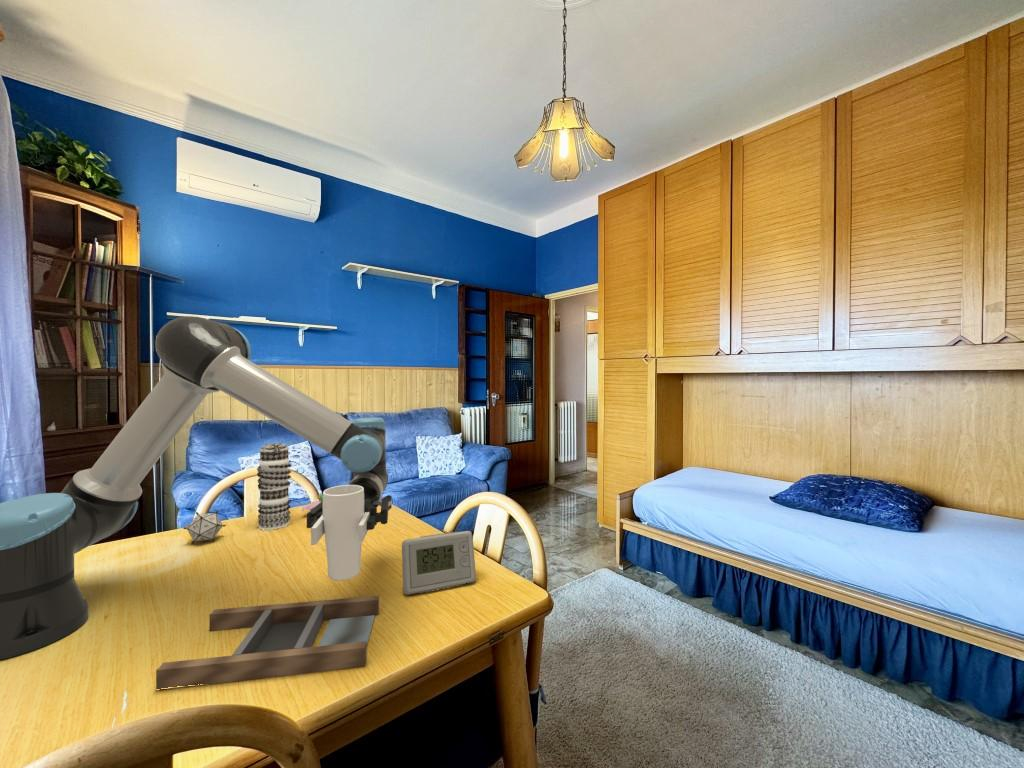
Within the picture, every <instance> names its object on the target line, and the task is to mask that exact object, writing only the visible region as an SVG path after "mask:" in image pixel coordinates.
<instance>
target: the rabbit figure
mask: <svg viewBox="0 0 1024 768" xmlns="http://www.w3.org/2000/svg"><path fill="white" fill-rule="evenodd" d="M317 499H318V500H314V501H312V502H310V503H309V504H306V505H303V506H302V509H301V511H302V512H303V511H307V512H310V511H311V510H312V509H313V508H315V507H316V506H317V505H318V504H319V503H321V499H323V493H319V494H318V497H317ZM319 500H320V501H319Z"/></svg>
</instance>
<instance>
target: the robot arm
mask: <svg viewBox="0 0 1024 768" xmlns="http://www.w3.org/2000/svg"><path fill="white" fill-rule="evenodd" d="M250 344H251V343H250V342H249V340H248V338H247V337H246V336H245V334H244V333H242V332H241V331H240V330H238V329H237V328H235V327H234V326H231V325H229V324H227V323H224V322H218V321H214V320H212V319H211V320H210V319H207V318H204V317H199V316H193V315H190V316H189V315H188V316H181V317H176V318H174V319H172V320H170V321H168V322H167V323H165V324H164V325H163V326H162V327H161V328H160V329H159V331H158V332H157V335H156V338H155V345H154V346H155V352H156V354H157V356H158V358H159V360H160V361H161V367H162V370H163V372H164V373H163V375H162V376H161V378H160V379H159V381H158V382H157V383H156V384H155V385H154V387H153V388H152V389H151V391H150V392H149V393H148V394H147V396H146V397H145V398H144V400H143V401H142V402H141V404H140V405H139V406H138V408H137V409H136V410H135V411H134V412H133V414H132V416H130V418H129V419H128V420H127V421H126V423H125V424H124V426H122V428H121V429H120V431H119V432H118V433H117V434H116V435H115V437H114V438H113V440H112V441H111V442H110V443H109V445H108V446H107V447H106V449H105V450H104V452H103V453H102V454H101V455H100V457H99V458H98V459H97V461H96V462H95V463H94V464H93V466H92V467H91V468H87V469H82V470H79V471H77V472H76V473H75V474H74V475H73V477H72V478H71V479H70V480H69V481H68V483H67V484H66V485H65V486H64V488H63V489H62V491H61V492H47V493H46V492H45V493H38V494H32V495H26V496H22V497H20V498H16V499H9V500H5V501H2V502H1V503H0V661H2V660H5V659H9V658H13V657H16V656H21V655H23V654H26V653H29V652H32V651H34V650H38V649H39V648H43V647H45V646H47V645H50V644H53V643H55V642H57V641H58V640H61V639H62V638H64V637H66V636H68V635H69V634H71V633H73V632H74V631H76V630H77V629H79V628H81V626H83V625H84V624H85V623H86V622H87V620H88V618H89V604H88V601H87V600H86V599H85V598H84V596H83V593H82V591H81V588H80V587H79V585H78V583H77V582H76V578H75V554H77V553H79V552H81V551H82V550H84V549H86V548H88V547H90V546H92V545H93V544H96V543H98V542H99V541H101V540H103V539H104V540H105V539H106V538H109V537H110V536H113V535H114V534H116V533H118V532H119V531H120V530H122V529H123V528H124V527H126V526H127V525H128V524H129V523H130V522H131V521H132V520H133V518H134V516H135V514H136V512H137V510H138V508H139V507H138V506H139V502H138V500H139V499H140V498H141V497H142V494H143V489H142V486H141V484H142V482H143V480H144V479H145V477H146V476H147V475H148V474H149V472H150V471H151V470H152V469H153V467H154V466H155V464H156V463H157V462H158V461H159V459H160V458H161V456H162V455H163V454H164V452H165V451H166V450H167V449H168V447H169V446H170V444H171V443H172V442H173V441H174V439H175V438H176V437H177V435H178V434H180V431H181V430H182V429H183V427H184V425H186V424H187V422H188V420H189V419H191V417H192V415H194V414H193V413H194V412H195V411H196V410H197V409H198V407H200V405H201V403H202V402H203V401H204V399H206V397H207V395H209V394H213V393H217V392H220V391H221V392H223V393H224V394H226V395H228V396H230V397H232V398H234V400H237V401H238V402H240V403H241V404H243V405H246V406H247V407H248V408H251V409H252V410H254V411H255V412H257V413H259V414H261V415H263V416H264V417H266V418H268V419H270V420H271V421H273V422H274V423H276V424H278V425H280V426H281V427H283V428H285V429H286V430H289V431H291V432H292V433H294V434H296V435H297V436H299V437H301V438H303V439H305V440H306V441H308V442H310V443H312V444H313V445H314V446H316V447H318V448H320V449H322V450H324V451H325V452H327V453H329V454H330V455H332V456H334V457H335V458H336V459H339V460H340V461H341V463H342V465H343V466H344V467H345V468H346V469H347V470H348V471H350V472H351V473H353V475H352V476H353V477H352V478H353V479H352V480H351V481H350V482H349V483H348V484H347V485H359V486H362V487H363V488H364V516H363V518H362V519H361V521H360V523H359V525H358V542H362V543H363V542H364V540H365V539H366V535H367V533H368V531H372V530H374V529H375V526H377V525H378V523H380V525H386V524H388V520H389V511H390V510H391V509H392V507H393V506H392V500H393V499H392V495H389V494H388V495H385V496H383V497H382V495H383V493H384V491H385V490H386V488H387V486H388V483H389V472H388V470H387V459H386V450H387V449H386V447H387V446H386V433H387V430H386V424H385V423H386V422H385V419H384V418H382V417H361V418H356V419H354V420H353V421H350V420H348V419H347V418H346V417H343V416H342V415H340V414H338V413H337V412H335V411H334V410H331V409H330V408H329V407H328V406H325V405H324V404H322V403H320V402H319V401H317V400H315V399H314V398H312V397H311V396H309V395H307V394H306V393H304V392H303V391H301V390H299V389H298V388H296V387H294V386H292V385H291V384H289V383H287V382H286V381H284V380H282V378H281V379H280V378H279V377H277V376H275V374H272V373H270V371H268V370H266V369H264V368H262V367H261V366H259V365H257V364H256V363H255V362H253V361H251V356H252V348H251V345H250ZM320 501H321V503H319V504H318V505H317V506H316V507H315V508H313V509H312V510H311V511H310V510H309V511H307V513H306V529H310V545H311V546H316V545H317V544H318V543H319V541H320V540H321V538H322V537H323V536H324V535H325V534H324V525H323V510H322V504H323V499H321V500H320ZM378 507H380V512H378Z"/></svg>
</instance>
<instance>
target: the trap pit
mask: <svg viewBox="0 0 1024 768" xmlns="http://www.w3.org/2000/svg"><path fill="white" fill-rule="evenodd" d="M323 622H324V620H323V605H317V606H316V607H315V609H314V611H313V613H312V615H311V617H310V619H309V621H298V622H287V623H277V624H272V609H271V610H265V611H264V612H263V614H262V615H261V616H260V618H259V619H258V620H257V622H256V623H255V625H254V626H253V627H251V628H250V630H249V631H248V633H246V635H245V637H243V639H242V641H241V642H240V644H239V645H238V646H237V647H236V649H235V650H234V652H233V653H232V654H231V656H232V655H241V654H251V653H260V652H270V651H279V650H289V649H298V648H308V647H313V644H314V642H315V639H316V638H317V636H318V633H319V631H320V629H321V627H322V625H323Z"/></svg>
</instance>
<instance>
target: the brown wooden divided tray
mask: <svg viewBox="0 0 1024 768" xmlns="http://www.w3.org/2000/svg"><path fill="white" fill-rule="evenodd" d="M317 605H323V621H329V622H328V623H327V626H326V628H325V630H324V633H323V634H322V638H321V639H320V642H319V644H318V646H311V647H308V648H298V649H289V650H279V651H270V652H260V653H251V654H241V655H232V654H231V655H225V656H224V655H223V656H214V657H206V658H205V657H204V658H195V659H186V660H178V661H177V660H176V661H166V662H163V663H162V664H161V665H159V667H158V668H156V669H155V688H156V689H161V688H168V687H177V686H188V685H198V684H199V685H200V684H204V685H203V686H206V685H205V684H209V685H217V684H218V685H219V684H226V683H225V682H227V683H235V682H242V681H250V680H251V681H253V680H259V679H267V678H278V677H286V676H294V675H303V674H304V675H305V674H311V673H313V674H314V673H321V672H330V671H337V670H348V669H353V668H356V669H357V668H361V667H362V668H363V667H366V663H367V660H368V657H367V655H368V650H367V649H368V648H367V647H368V643H369V641H370V636H371V632H372V628H373V626H374V620H375V617H376V616H379V612H380V595H369V596H367V595H366V596H357V597H344V598H334V599H322V600H311V601H299V602H286V603H285V602H284V603H276V604H264V605H263V604H262V605H252V606H242V607H241V606H240V607H229V608H219V609H218V608H217V609H213V610H212V611H211V613H209V615H208V616H209V621H208V622H209V625H208V626H209V627H208V628H209V632H214V631H224V630H225V631H226V630H235V629H236V630H238V629H246V628H252V627H253V626H254V625H255V623H256V622H257V620H258V619H259V618H260V616H261V615H262V614H263V612H264V611H265V610H271V609H272V624H277V623H287V622H298V621H309V619H310V617H311V615H312V613H313V611H314V609H315V607H316V606H317ZM232 681H233V682H232ZM234 681H235V682H234ZM156 689H155V690H156Z"/></svg>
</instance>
